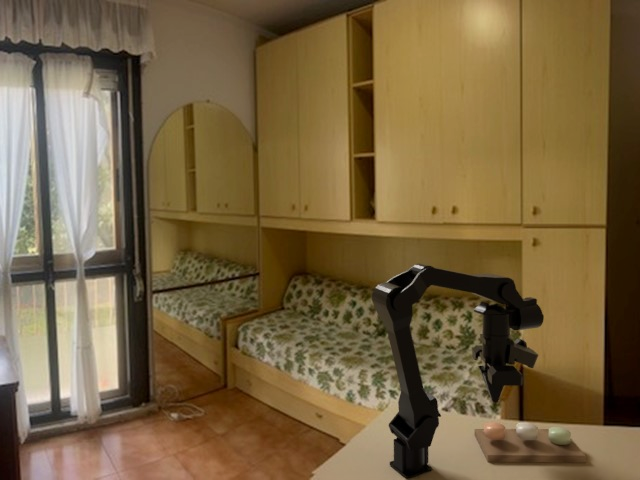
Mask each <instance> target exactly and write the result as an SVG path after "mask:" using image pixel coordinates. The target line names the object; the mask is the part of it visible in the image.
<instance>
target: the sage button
mask: <svg viewBox="0 0 640 480" xmlns="http://www.w3.org/2000/svg"><path fill="white" fill-rule="evenodd" d="M548 429H549V440H550V441H551V442H553V443H555V444H559V445H567V444H570V441H571V440H572V438H571V435H572V433H571V431H570V430H569V429H567V428H565V427H561V426H551V427H549V428H548Z"/></svg>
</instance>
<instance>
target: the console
mask: <svg viewBox="0 0 640 480" xmlns="http://www.w3.org/2000/svg"><path fill="white" fill-rule="evenodd" d="M473 434H474V437H475V439H476V441H477V443H478V445H479V448H480V449H481V452H482V454H483V455H484V457H485V459H486V462H487V463H586V455H585V453H584V452H583V451H582V450H581V448H579V446H578V445H577V444H576V443H575V442H574V441H573V440H572V439H571V441H570V444H567V445H559V444H555V443H553V442H551V441H550V440H549V428H538V438H537V439H535V440H524V439H521V438H519V437H518V436H517V435H516V428H505V438H504V439H502V440H492V439H489V438H487V437H485V435H484V428H474V433H473Z"/></svg>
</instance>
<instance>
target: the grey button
mask: <svg viewBox="0 0 640 480" xmlns="http://www.w3.org/2000/svg"><path fill="white" fill-rule="evenodd" d="M515 425H516V428H515V429H516V435H517V436H518V437H519V438H521V439H524V440H535V439H537V438H538V429H539V427H538V426H537V425H536V424H534V423H531V422H519V423H517V424H515Z"/></svg>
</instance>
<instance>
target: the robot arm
mask: <svg viewBox="0 0 640 480" xmlns="http://www.w3.org/2000/svg"><path fill="white" fill-rule="evenodd" d="M515 283H516V282H515V280H514V279H512V278H511V277H508V276H503V275H498V274H494V273H488V272H486V273H482V272H481V273H474V274H472V273H471V274H470V273H464V272H459V271H454V270H449V269H445V268H439V267H435V266H432V265H429V264H425V263H421V262H419V263H416V264H414V265H412V266H411V267H410V268H408V269H407V270H404V271H403V272H401V273H399V274H397V275H394V276H392V277H391V278H390V279H388V280H387V281H385V282H380V283H379V284H377V286H375V287H374V289H373V291H372V292H371V301H372V304H373V306H374V308H375V311H376V313H377V316H378V317H379V318H380V320H381V322H382V324H383V325H384V327H385V328H386V331H387V335H388V339H389V344H390V350H391V354H392V357H393V361H394V362H393V363H394V367H395V371H396V374H397V379H398V384H399V388H400V395H399V398H398V402H397V403H398V412H397V413H396V414H395V416H394V417H393V418H392V419H391V420H390V421H389V423H388V428H389V431H390V433H391V434H393V436H395V437H396V438H393V460H391V461H389V466H391V467H392V468H393V469H394V470H395V471H397V472H398V473H400V474H401V475H402V476H403V477H404V478H405V479H410V478H414V477H417V476H420V475H423V474H426V473H428V472H431V471H432V470H433V467H431V465H429V447H431V446H432V443H433V439H434V436H435V432H436V430H437V428H439V425H440V419H439V417H442V415H441V413H440V412H439V408H438V407H439V406H438V400H437V398H436V397H435V396H434V395H432V394H431V393H429V392H428V391H426V390H425V388H424V384H423V380H422V375H421V370H420V367H419V365H420V364H419V361H418V357H417V352H416V349H415V344H414V339H413V334H412V331H411V323H412V319H413V316H414V308H413V307H414V306H413V305H414V304H416V303H417V302H418V301H419V300H420V299H422V297H423V295H424V294H425V293H426V291H427V289H428V288H430V287H431V286H435V287H440V288H445V289H451V290H456V291H461V292H467V293H471V294H472V295H475V296H476V297H480V298H482V299H484V300H488V301H491V302H494V303H492V304H489V303H488V302H485V301H481V302H480V303H479V304H478V305H477V306H476V307H475V308H473V312H474V313H477V314H479V315H482V333H480V334H479V339H480V340H481V342H482V343H481V344H480V345H479V344H478V345H477V344H475V346H474V347H473V348H472V349H471V351H472V352H471V354H472V356H471V357H472V358H473V360H474V361H478V359H479V358H480V360H481V365H478V366H477V367H478V370H479V372H480V375H481V377H482V380H483V382H484V384H485V386H486V389H487V392H488V394H489V397H490V400H491V401H492V403H495V404H498V403H499V400H500V398H501V395H502V393H503V389H504V386H511V387H512V386H515V387H516V386H518V387H520V386H523V385H524V375H523V374H522V373H521V372H520V371H519V369H517V367H515V366H514V365H515V363H518V364H521V365H524V366H527V367H528V368H529V369H534V368H535V365H536V363H537V360H538V357H539V353H537V352H536V351H535V350H534V349H532V348H530V347H529V346H528V344H527V342H526V341H525V340H524V339H521V338H517V339H515V340H513V339H512V338H511V330H513V331H522V330H529V329H530V330H531V329H537V328H540V327H541V326H542V325H543V324H544V319H545V318H544V317H545V316H544V314H543V311H542V308H541V307H540V305H539V304H538V299H537V298H535V297H532V296H528V297H525V298H522V296H521V294H520V292H519V291H518V290H517V287H516V284H515ZM503 305H505V306H503Z"/></svg>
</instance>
